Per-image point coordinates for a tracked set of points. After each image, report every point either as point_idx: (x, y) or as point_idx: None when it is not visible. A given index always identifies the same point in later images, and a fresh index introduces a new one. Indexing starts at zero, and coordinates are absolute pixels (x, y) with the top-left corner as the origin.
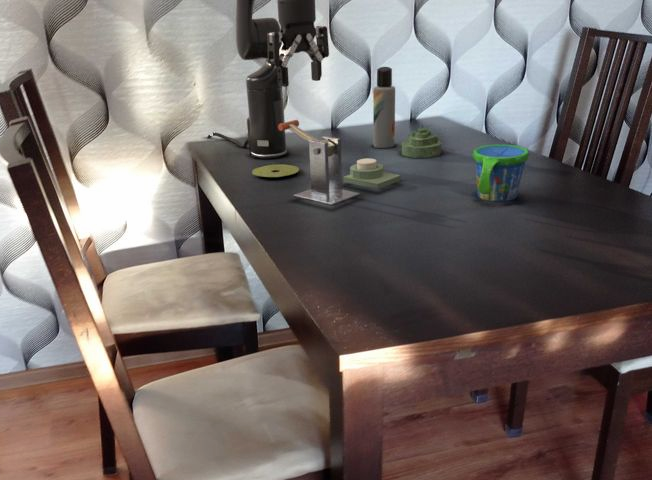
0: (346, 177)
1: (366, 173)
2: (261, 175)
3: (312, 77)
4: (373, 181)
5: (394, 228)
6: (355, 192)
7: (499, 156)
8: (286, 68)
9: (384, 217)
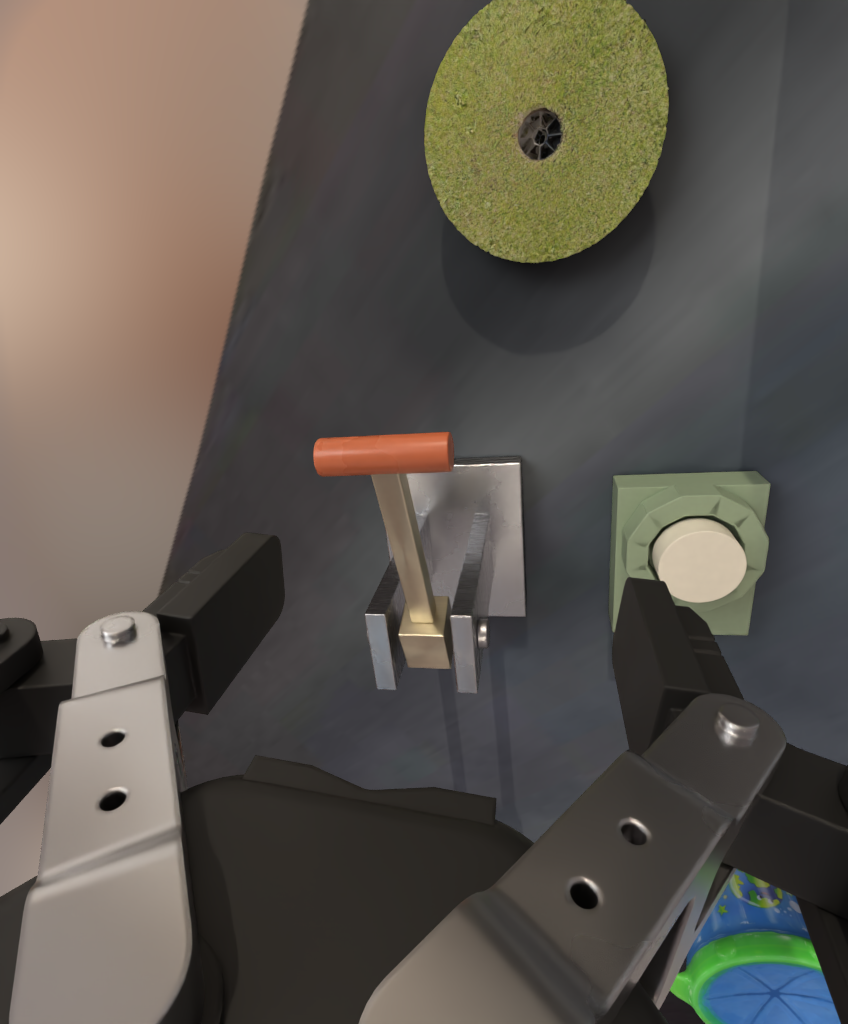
0: (617, 501)
1: None
2: (439, 158)
3: (630, 594)
4: None
5: (411, 772)
6: (522, 602)
7: (739, 1001)
8: (197, 704)
9: (451, 725)
